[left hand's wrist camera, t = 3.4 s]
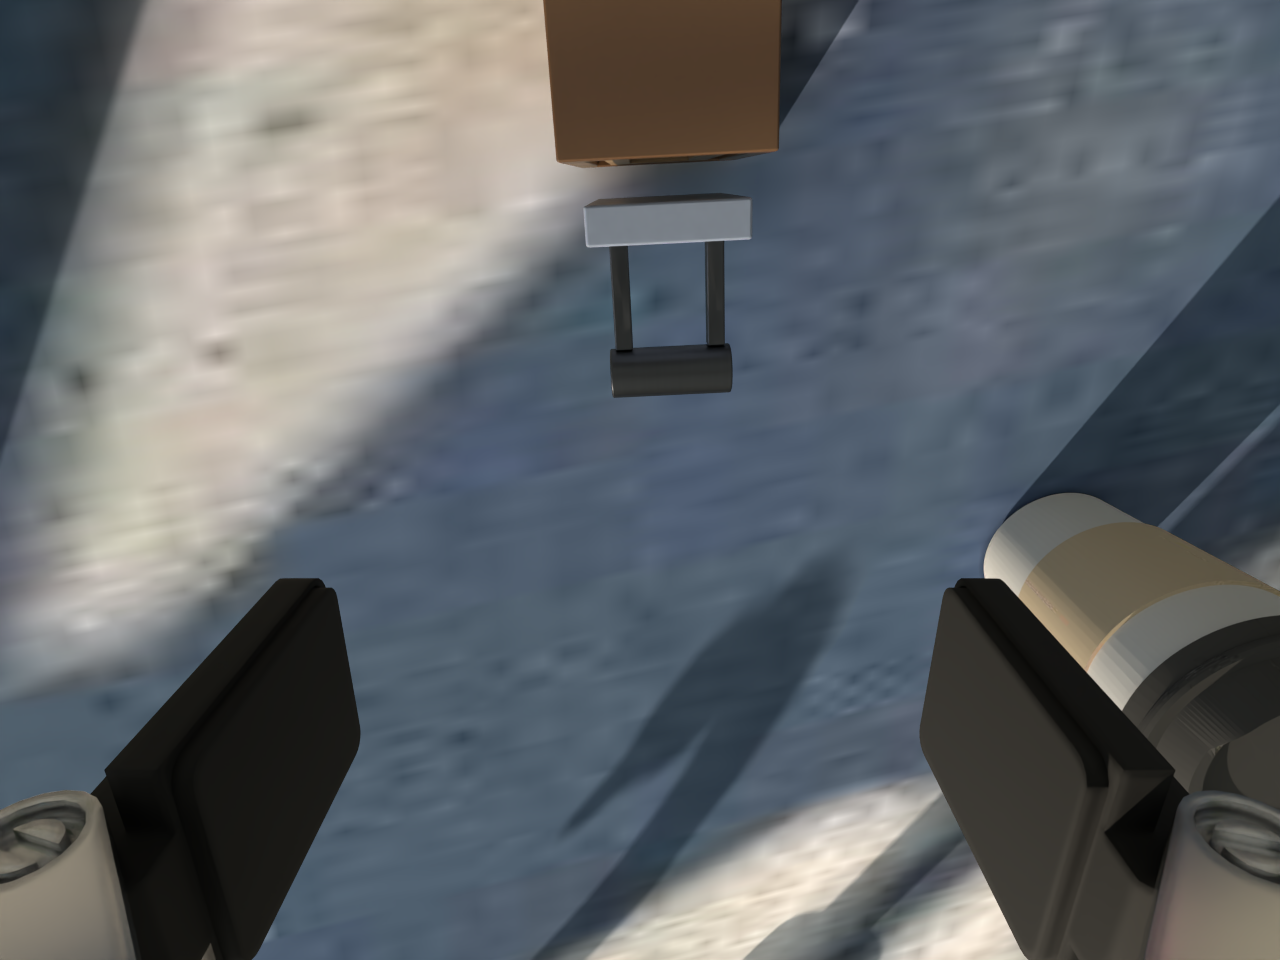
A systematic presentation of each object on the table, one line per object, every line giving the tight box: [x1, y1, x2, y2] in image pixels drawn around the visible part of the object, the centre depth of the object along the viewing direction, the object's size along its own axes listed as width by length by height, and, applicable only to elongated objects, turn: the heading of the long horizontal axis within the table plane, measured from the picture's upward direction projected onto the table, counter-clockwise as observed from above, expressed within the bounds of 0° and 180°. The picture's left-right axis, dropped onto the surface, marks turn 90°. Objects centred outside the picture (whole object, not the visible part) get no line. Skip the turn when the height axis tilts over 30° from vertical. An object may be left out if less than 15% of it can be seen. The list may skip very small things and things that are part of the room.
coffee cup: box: [984, 493, 1280, 810], centre depth 30 cm, size 9×9×15 cm
